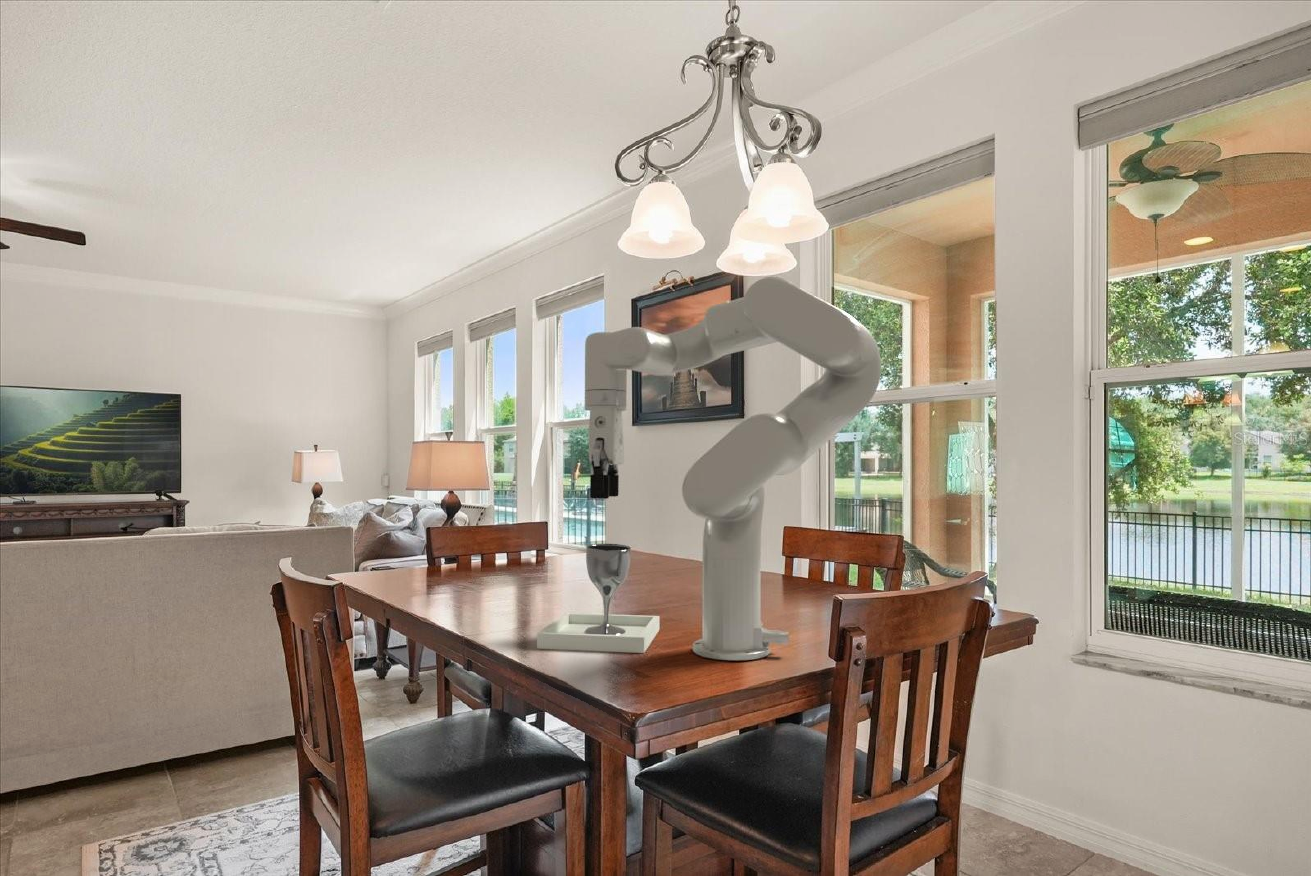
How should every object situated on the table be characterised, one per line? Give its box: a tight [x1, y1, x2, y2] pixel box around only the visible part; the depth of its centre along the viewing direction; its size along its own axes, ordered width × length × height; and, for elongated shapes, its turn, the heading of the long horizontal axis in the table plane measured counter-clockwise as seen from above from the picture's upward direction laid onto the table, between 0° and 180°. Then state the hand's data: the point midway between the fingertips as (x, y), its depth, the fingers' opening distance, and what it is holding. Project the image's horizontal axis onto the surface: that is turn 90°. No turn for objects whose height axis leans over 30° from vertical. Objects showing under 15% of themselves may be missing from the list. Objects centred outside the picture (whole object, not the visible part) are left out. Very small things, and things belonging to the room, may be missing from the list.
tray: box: [536, 612, 660, 654], centre depth 134 cm, size 18×18×2 cm
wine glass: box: [585, 543, 632, 635], centre depth 136 cm, size 8×8×15 cm
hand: (604, 497), depth 136 cm, fingers open, 9 cm apart
